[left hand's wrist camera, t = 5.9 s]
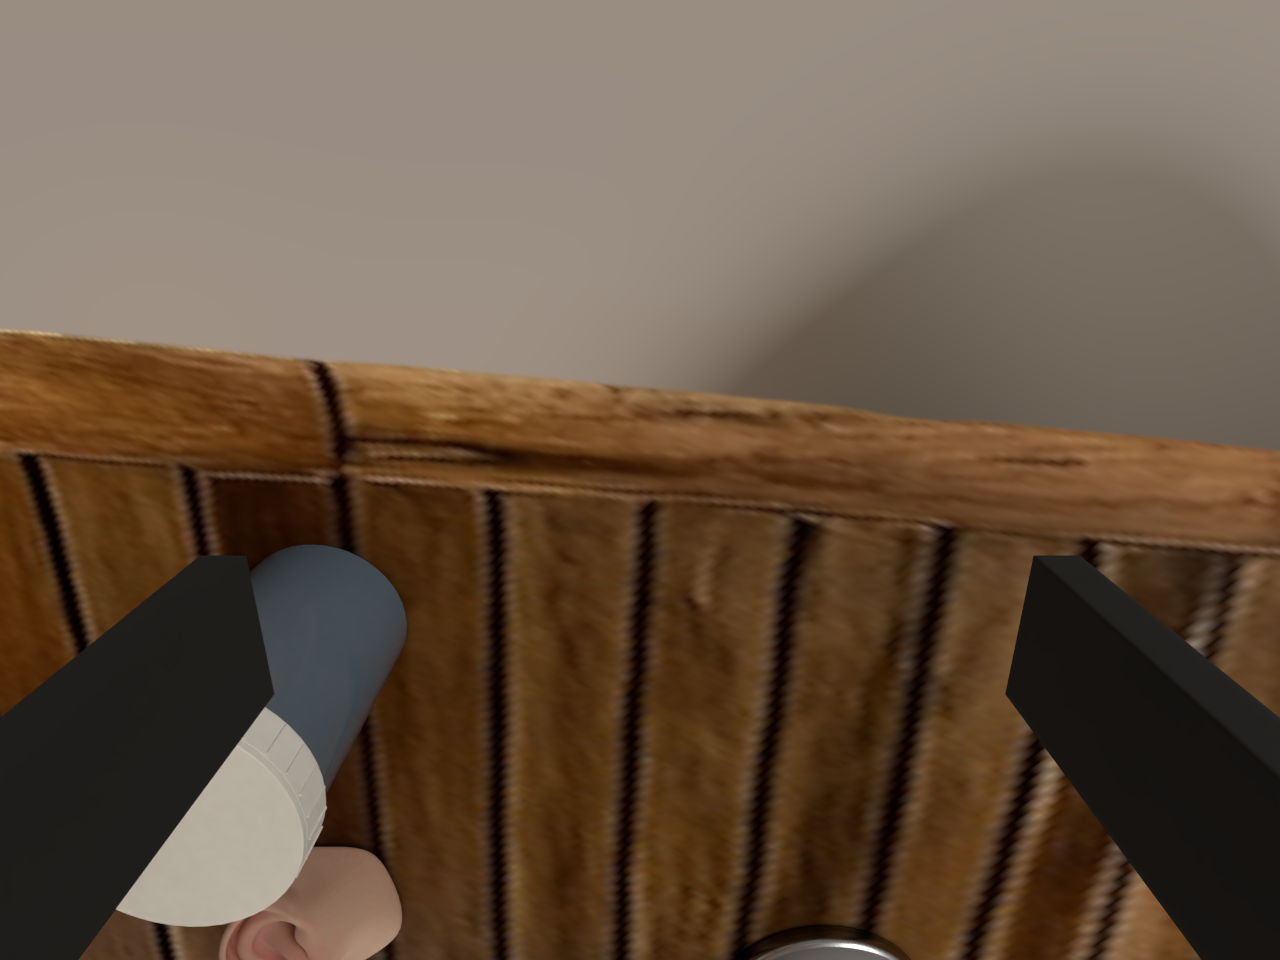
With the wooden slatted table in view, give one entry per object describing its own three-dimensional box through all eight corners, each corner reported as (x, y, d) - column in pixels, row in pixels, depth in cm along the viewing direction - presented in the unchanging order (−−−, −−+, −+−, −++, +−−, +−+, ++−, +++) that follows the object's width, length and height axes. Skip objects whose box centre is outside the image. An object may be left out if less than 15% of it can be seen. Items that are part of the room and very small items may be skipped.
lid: (346, 715, 31) (324, 754, 29) (307, 903, 34) (285, 951, 32) (72, 647, 30) (27, 683, 28) (62, 849, 33) (21, 895, 31)
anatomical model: (326, 871, 46) (427, 987, 50) (349, 821, 50) (441, 932, 54) (156, 941, 48) (265, 1048, 52) (191, 888, 52) (290, 991, 56)
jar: (422, 570, 44) (313, 754, 29) (390, 704, 47) (279, 930, 32) (250, 524, 43) (50, 691, 28) (231, 665, 46) (42, 880, 31)
